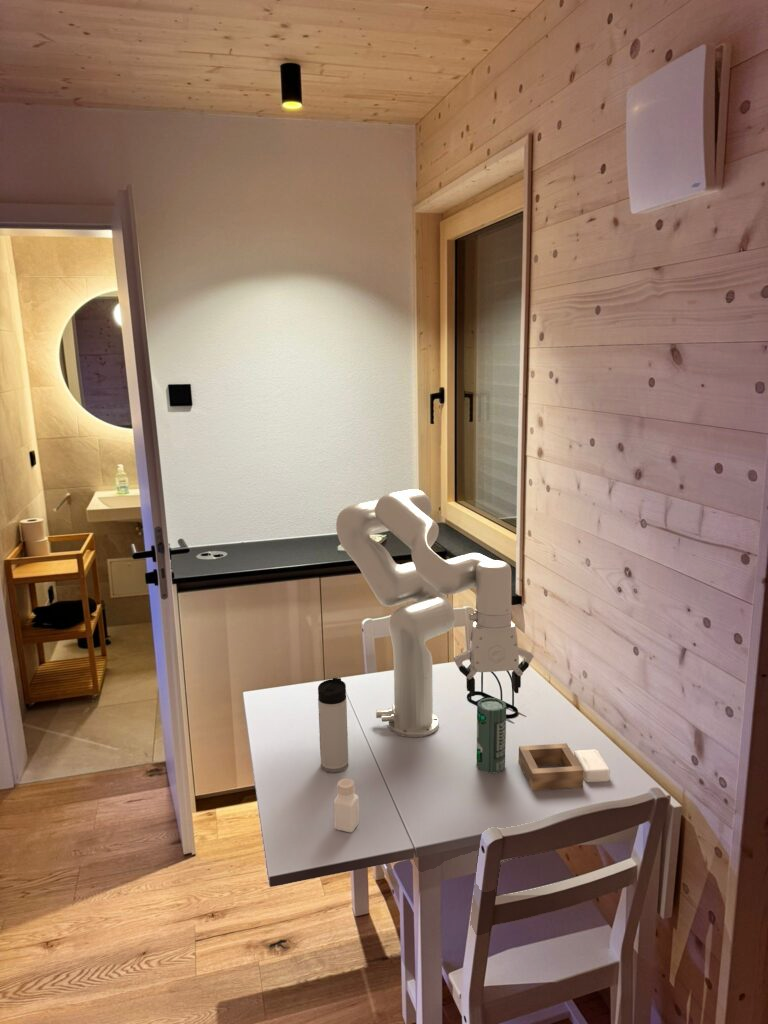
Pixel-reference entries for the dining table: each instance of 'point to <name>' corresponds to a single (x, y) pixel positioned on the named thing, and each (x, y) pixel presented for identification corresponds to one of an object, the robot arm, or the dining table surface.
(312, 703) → the dining table surface
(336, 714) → the travel mug
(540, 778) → the socket
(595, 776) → the soap
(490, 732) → the can
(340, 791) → the pepper shaker
